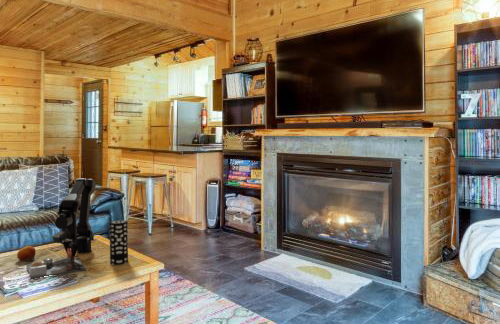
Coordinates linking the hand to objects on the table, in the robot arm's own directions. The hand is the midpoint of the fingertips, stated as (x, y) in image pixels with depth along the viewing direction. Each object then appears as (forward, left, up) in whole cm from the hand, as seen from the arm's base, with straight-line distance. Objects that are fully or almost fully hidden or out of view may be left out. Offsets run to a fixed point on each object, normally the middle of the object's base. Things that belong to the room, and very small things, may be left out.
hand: (71, 256), depth 192 cm
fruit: (+18, -16, -3) cm, 24 cm away
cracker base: (+8, +7, -3) cm, 11 cm away
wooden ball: (+16, +12, -3) cm, 20 cm away
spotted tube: (-19, +14, -3) cm, 24 cm away
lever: (+7, +4, -1) cm, 8 cm away
